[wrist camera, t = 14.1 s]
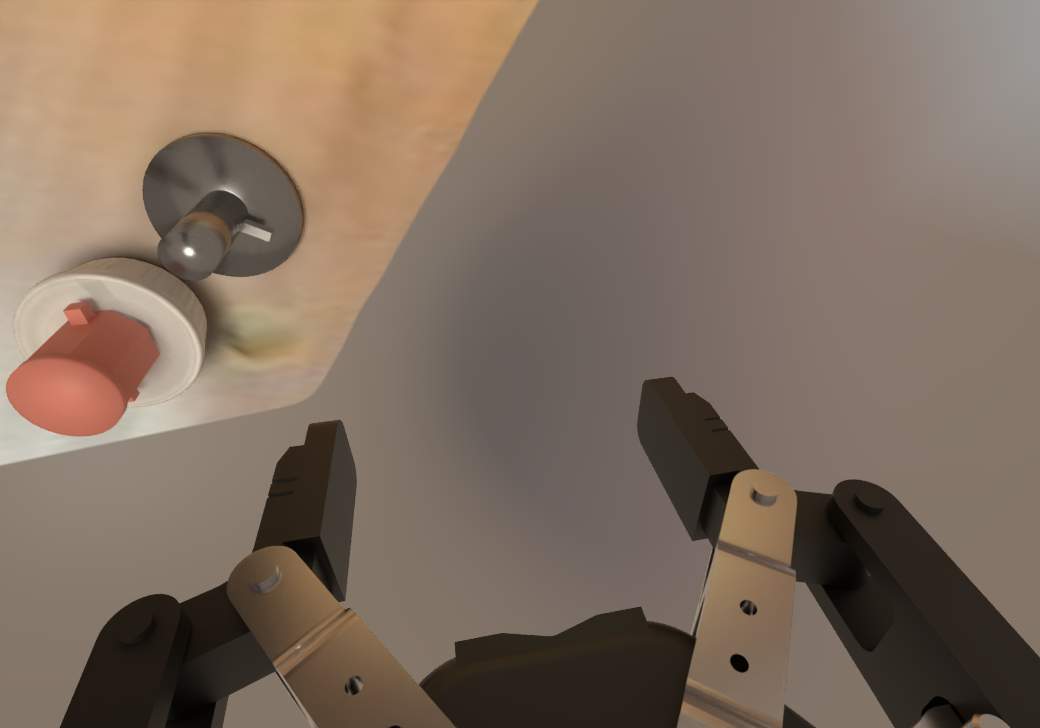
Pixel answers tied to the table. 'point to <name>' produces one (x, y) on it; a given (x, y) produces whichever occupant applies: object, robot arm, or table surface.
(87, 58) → the table surface
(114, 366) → the cap
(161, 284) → the ramekin
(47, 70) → the table surface
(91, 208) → the table surface
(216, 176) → the grey lamp
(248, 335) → the table surface
